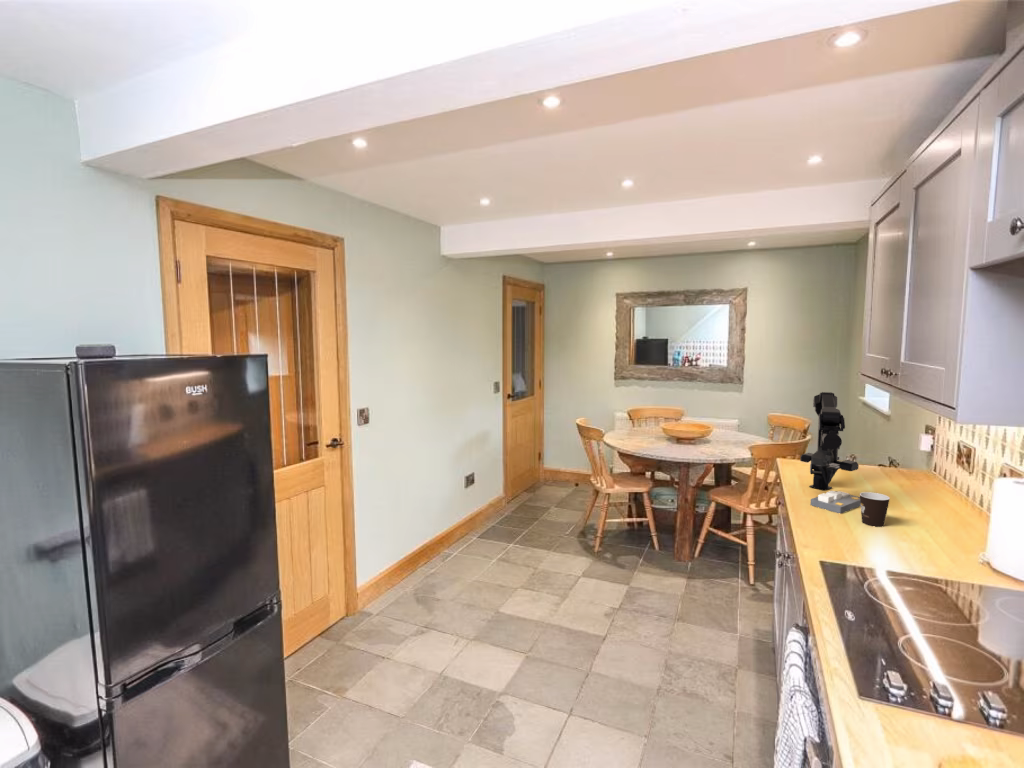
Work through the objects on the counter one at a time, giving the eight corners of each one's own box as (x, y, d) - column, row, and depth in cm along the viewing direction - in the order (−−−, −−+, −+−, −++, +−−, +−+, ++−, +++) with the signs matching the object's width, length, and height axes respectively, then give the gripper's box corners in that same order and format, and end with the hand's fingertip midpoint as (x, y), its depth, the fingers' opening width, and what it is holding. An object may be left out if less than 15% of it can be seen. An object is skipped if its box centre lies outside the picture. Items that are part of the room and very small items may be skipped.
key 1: (823, 500, 200) (823, 493, 199) (833, 503, 196) (833, 495, 196) (817, 502, 198) (818, 495, 197) (828, 505, 194) (828, 497, 194)
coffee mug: (887, 530, 174) (889, 501, 173) (857, 524, 179) (858, 497, 178) (888, 519, 183) (890, 492, 182) (859, 514, 188) (860, 488, 187)
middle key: (831, 497, 203) (831, 490, 202) (841, 500, 199) (841, 493, 199) (826, 499, 201) (826, 492, 200) (836, 502, 197) (836, 494, 197)
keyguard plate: (835, 496, 208) (835, 490, 208) (864, 504, 199) (865, 497, 198) (810, 505, 199) (810, 498, 199) (840, 513, 190) (840, 506, 189)
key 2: (838, 498, 206) (839, 491, 205) (849, 500, 202) (849, 493, 202) (833, 500, 204) (834, 492, 203) (844, 502, 200) (844, 495, 200)
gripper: (793, 442, 198) (791, 481, 200) (844, 451, 183) (842, 493, 184) (809, 438, 204) (807, 476, 206) (860, 447, 188) (858, 488, 190)
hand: (827, 483), depth 196 cm, fingers closed
